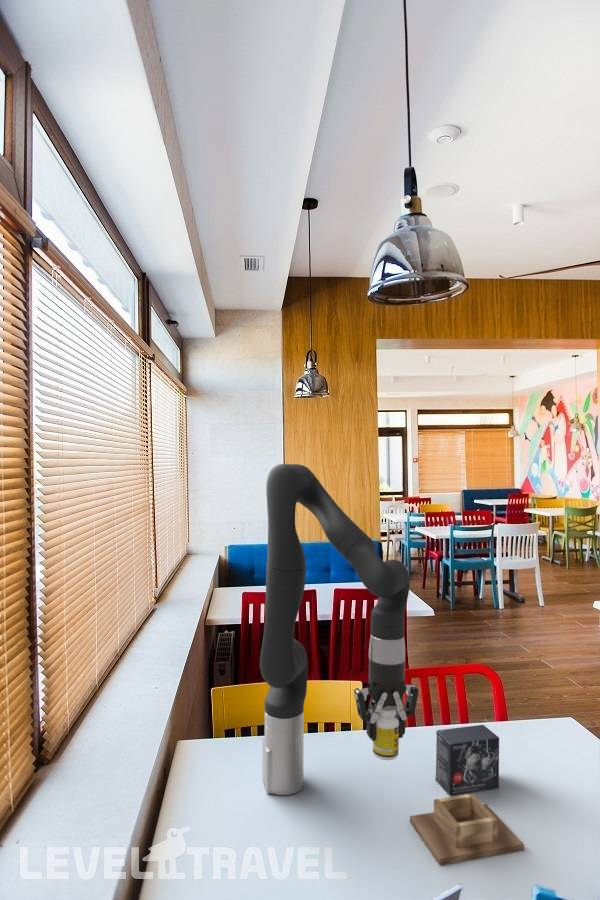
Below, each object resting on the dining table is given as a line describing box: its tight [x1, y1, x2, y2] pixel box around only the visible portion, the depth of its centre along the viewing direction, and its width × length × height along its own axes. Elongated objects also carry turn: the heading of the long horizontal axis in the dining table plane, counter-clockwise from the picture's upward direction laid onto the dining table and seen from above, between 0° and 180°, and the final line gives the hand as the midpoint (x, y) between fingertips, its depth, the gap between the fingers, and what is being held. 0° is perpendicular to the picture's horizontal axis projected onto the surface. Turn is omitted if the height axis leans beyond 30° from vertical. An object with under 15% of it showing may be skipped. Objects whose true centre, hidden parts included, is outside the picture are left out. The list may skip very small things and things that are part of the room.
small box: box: [434, 724, 500, 797], centre depth 130 cm, size 13×7×12 cm, turn 105°
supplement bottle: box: [372, 706, 400, 761], centre depth 116 cm, size 5×5×10 cm
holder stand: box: [409, 793, 525, 866], centre depth 112 cm, size 18×13×5 cm
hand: (385, 737), depth 116 cm, fingers closed on supplement bottle, 5 cm apart
